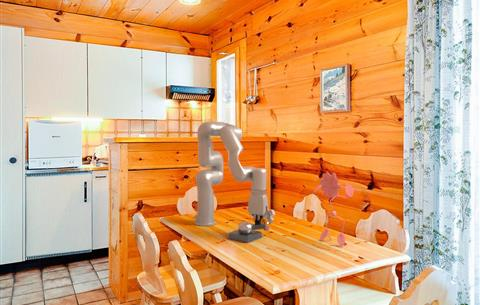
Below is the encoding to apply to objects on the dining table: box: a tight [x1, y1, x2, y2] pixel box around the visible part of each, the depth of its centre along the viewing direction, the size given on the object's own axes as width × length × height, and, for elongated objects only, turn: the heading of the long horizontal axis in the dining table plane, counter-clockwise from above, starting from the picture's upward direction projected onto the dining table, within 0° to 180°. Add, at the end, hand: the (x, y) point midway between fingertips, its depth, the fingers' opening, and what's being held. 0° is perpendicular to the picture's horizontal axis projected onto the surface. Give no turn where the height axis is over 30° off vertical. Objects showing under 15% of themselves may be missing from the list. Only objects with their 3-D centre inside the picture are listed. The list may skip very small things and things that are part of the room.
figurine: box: [312, 171, 355, 252], centre depth 171 cm, size 15×26×35 cm, turn 33°
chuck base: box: [228, 229, 263, 244], centre depth 182 cm, size 12×12×3 cm
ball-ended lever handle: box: [237, 220, 270, 234], centre depth 183 cm, size 16×7×4 cm, turn 109°
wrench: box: [265, 209, 276, 224], centre depth 224 cm, size 8×2×30 cm
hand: (257, 227), depth 187 cm, fingers closed
